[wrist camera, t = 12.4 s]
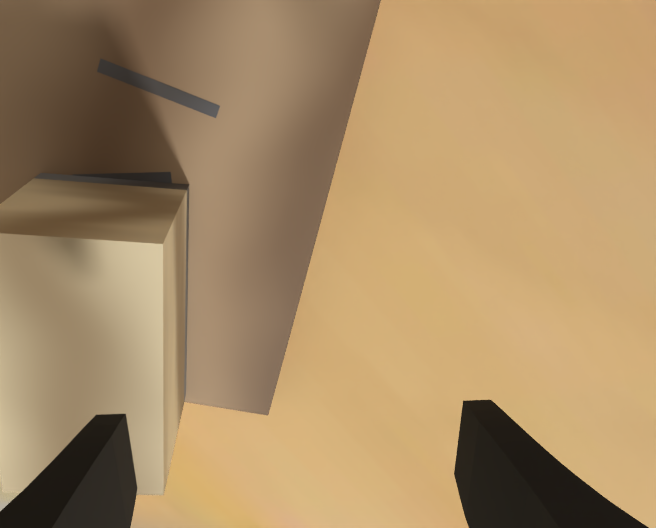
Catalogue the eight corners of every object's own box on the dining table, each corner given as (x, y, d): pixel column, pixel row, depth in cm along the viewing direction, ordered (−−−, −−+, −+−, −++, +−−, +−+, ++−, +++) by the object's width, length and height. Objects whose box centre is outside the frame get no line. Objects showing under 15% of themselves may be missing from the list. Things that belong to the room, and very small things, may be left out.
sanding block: (189, 184, 19) (162, 244, 15) (186, 393, 22) (163, 495, 18) (40, 172, 19) (-35, 230, 14) (59, 388, 22) (2, 492, 17)
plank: (449, -282, 16) (462, -303, 15) (268, 396, 24) (268, 415, 23) (-39, -470, 14) (-66, -511, 13) (-55, 342, 22) (-73, 361, 21)
